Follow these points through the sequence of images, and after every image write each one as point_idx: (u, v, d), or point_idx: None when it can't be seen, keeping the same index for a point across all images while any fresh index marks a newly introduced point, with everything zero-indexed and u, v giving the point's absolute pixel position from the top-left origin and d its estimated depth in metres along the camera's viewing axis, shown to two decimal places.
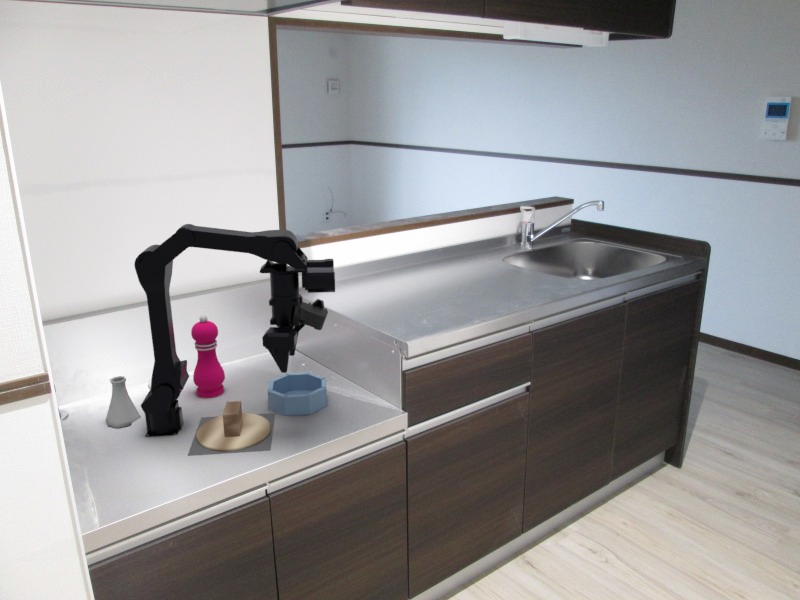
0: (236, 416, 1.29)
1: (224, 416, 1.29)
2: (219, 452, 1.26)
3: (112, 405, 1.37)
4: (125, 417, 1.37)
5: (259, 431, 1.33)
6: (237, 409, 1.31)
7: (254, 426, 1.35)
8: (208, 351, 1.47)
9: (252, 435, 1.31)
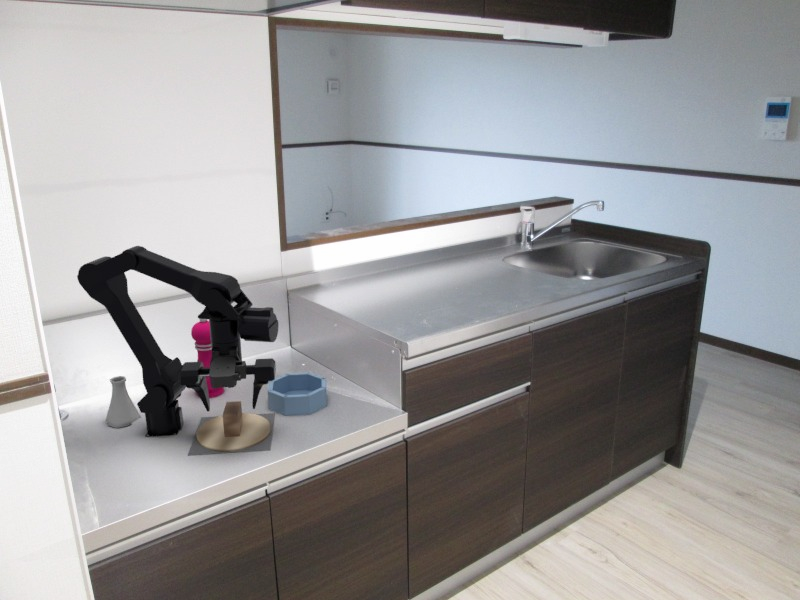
0: (236, 416, 1.29)
1: (224, 416, 1.29)
2: (219, 452, 1.26)
3: (112, 405, 1.37)
4: (125, 417, 1.37)
5: (259, 431, 1.33)
6: (237, 409, 1.31)
7: (254, 426, 1.35)
8: (208, 351, 1.47)
9: (252, 435, 1.31)
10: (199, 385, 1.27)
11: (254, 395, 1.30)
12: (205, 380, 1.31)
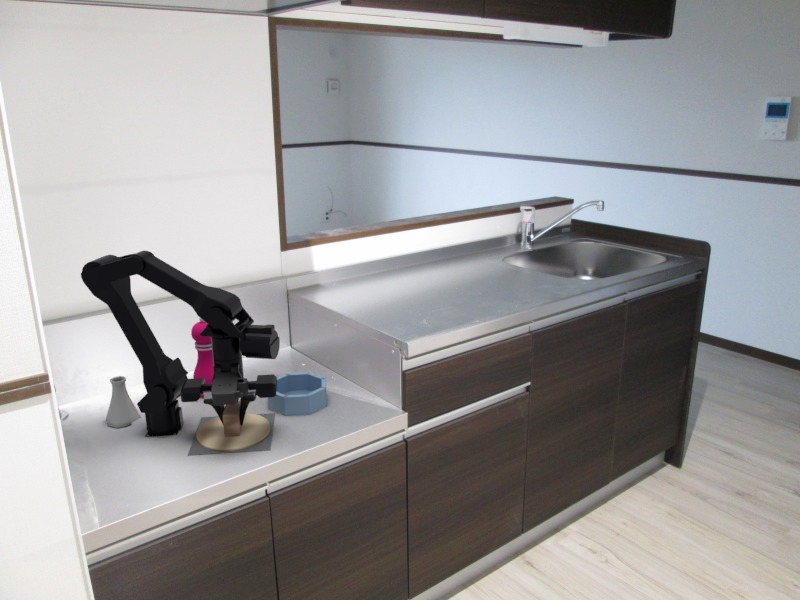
0: (236, 416, 1.29)
1: (224, 416, 1.29)
2: (219, 452, 1.26)
3: (112, 405, 1.37)
4: (125, 417, 1.37)
5: (259, 431, 1.33)
6: (237, 409, 1.31)
7: (254, 426, 1.35)
8: (208, 351, 1.47)
9: (252, 435, 1.31)
10: None
11: (241, 412, 1.31)
12: None
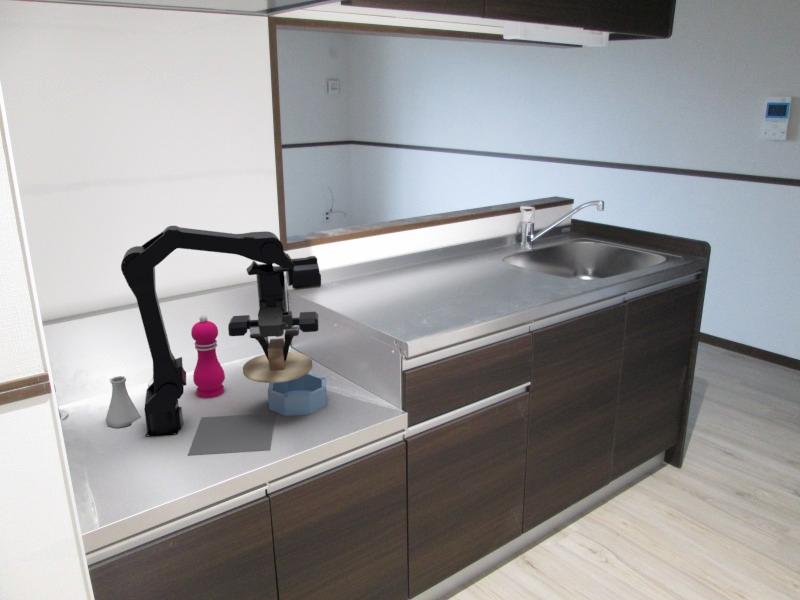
0: (280, 350, 1.35)
1: (269, 350, 1.35)
2: (219, 452, 1.26)
3: (112, 405, 1.37)
4: (125, 417, 1.37)
5: (302, 366, 1.38)
6: (281, 344, 1.37)
7: (297, 362, 1.41)
8: (208, 351, 1.47)
9: (296, 369, 1.37)
10: None
11: (285, 347, 1.37)
12: None
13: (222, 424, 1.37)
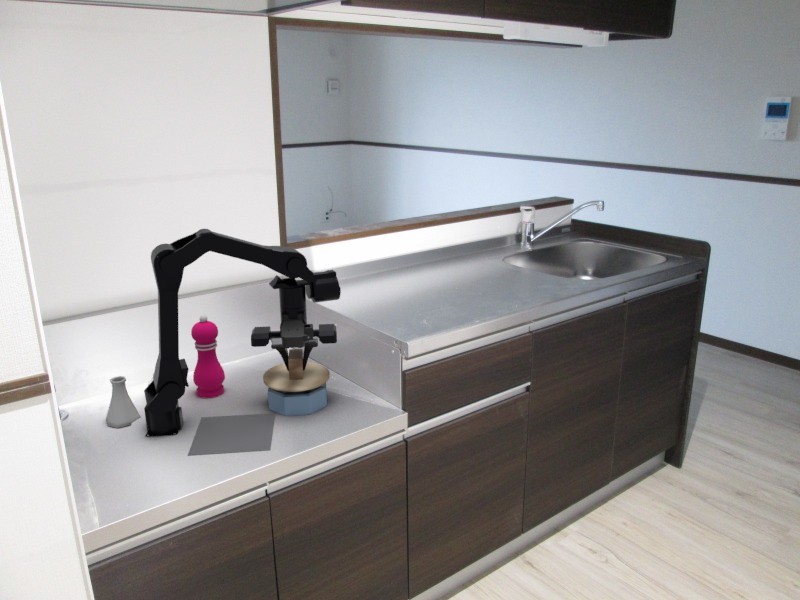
0: (300, 360, 1.41)
1: (289, 360, 1.41)
2: (219, 452, 1.26)
3: (112, 405, 1.37)
4: (125, 417, 1.37)
5: (320, 375, 1.44)
6: (300, 355, 1.43)
7: (314, 372, 1.46)
8: (208, 351, 1.47)
9: (315, 379, 1.43)
10: (283, 346, 1.40)
11: (304, 357, 1.43)
12: None
13: (222, 424, 1.37)
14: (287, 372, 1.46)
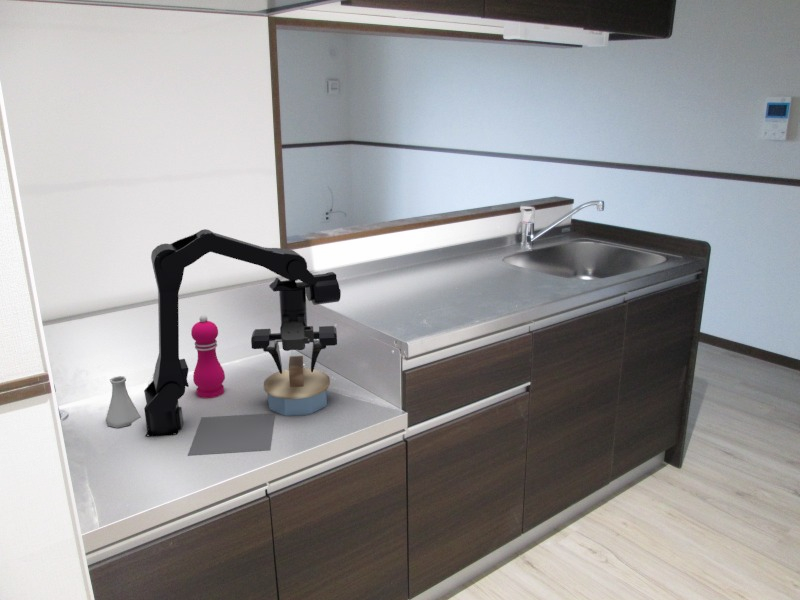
0: (301, 368, 1.42)
1: (290, 367, 1.41)
2: (219, 452, 1.26)
3: (112, 405, 1.37)
4: (125, 417, 1.37)
5: (320, 382, 1.45)
6: (301, 362, 1.44)
7: (315, 378, 1.47)
8: (208, 351, 1.47)
9: (315, 386, 1.43)
10: (275, 349, 1.40)
11: (313, 359, 1.44)
12: (278, 345, 1.45)
13: (222, 424, 1.37)
14: (287, 379, 1.47)
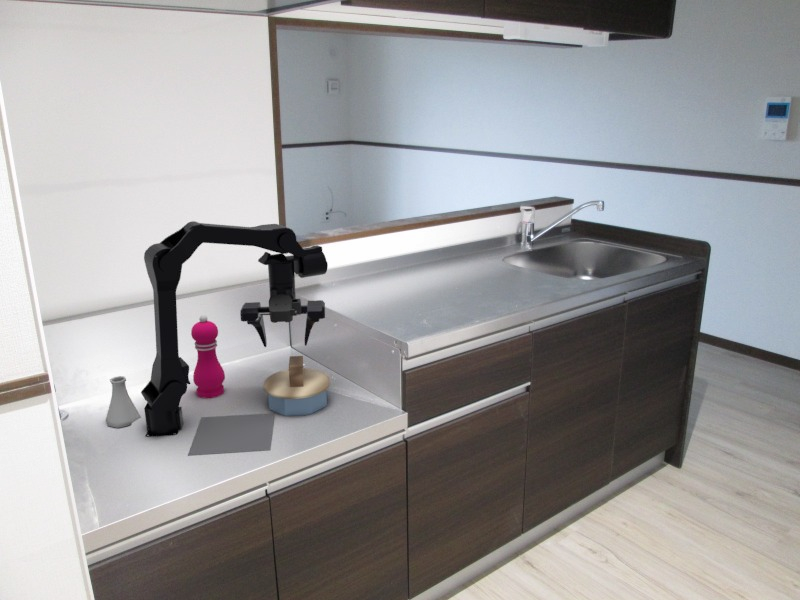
0: (301, 368, 1.42)
1: (290, 367, 1.41)
2: (219, 452, 1.26)
3: (112, 405, 1.37)
4: (125, 417, 1.37)
5: (320, 382, 1.45)
6: (301, 362, 1.44)
7: (315, 378, 1.47)
8: (208, 351, 1.47)
9: (315, 386, 1.43)
10: (258, 322, 1.42)
11: (306, 332, 1.46)
12: (262, 319, 1.47)
13: (222, 424, 1.37)
14: (287, 379, 1.47)
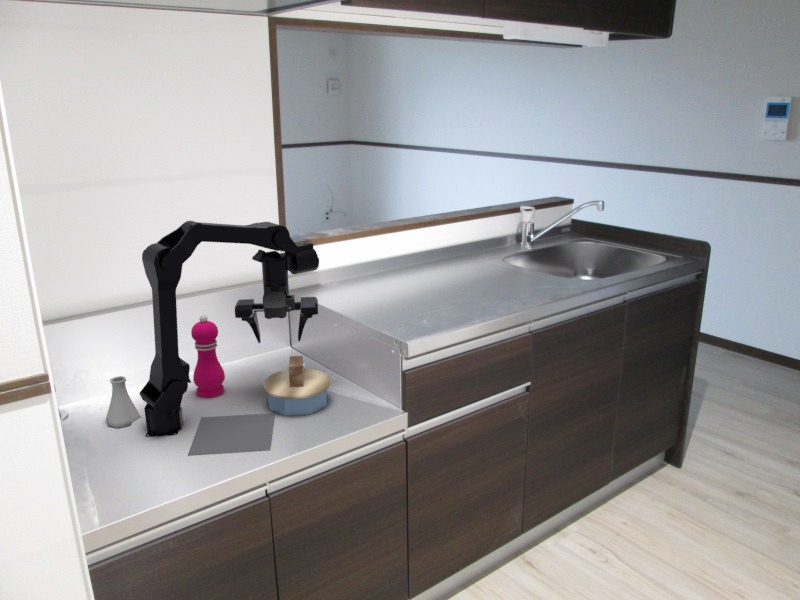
0: (301, 368, 1.42)
1: (290, 367, 1.41)
2: (219, 452, 1.26)
3: (112, 405, 1.37)
4: (125, 417, 1.37)
5: (320, 382, 1.45)
6: (301, 362, 1.44)
7: (315, 378, 1.47)
8: (208, 351, 1.47)
9: (315, 386, 1.43)
10: (252, 318, 1.45)
11: (300, 328, 1.48)
12: (256, 316, 1.49)
13: (222, 424, 1.37)
14: (287, 379, 1.47)
